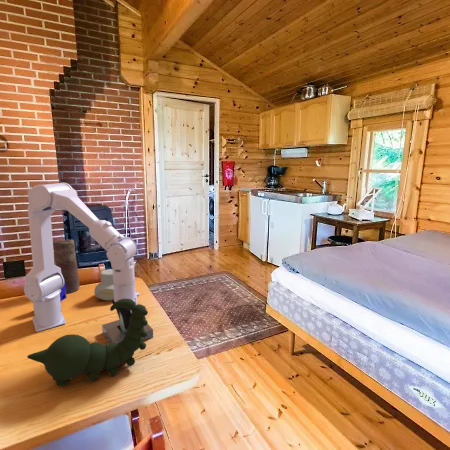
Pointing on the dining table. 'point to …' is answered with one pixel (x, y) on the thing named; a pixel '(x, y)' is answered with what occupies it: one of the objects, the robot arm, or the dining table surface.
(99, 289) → the air freshener
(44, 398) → the dining table surface
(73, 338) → the toy figurine
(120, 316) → the plug
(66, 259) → the candle
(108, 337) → the port block
